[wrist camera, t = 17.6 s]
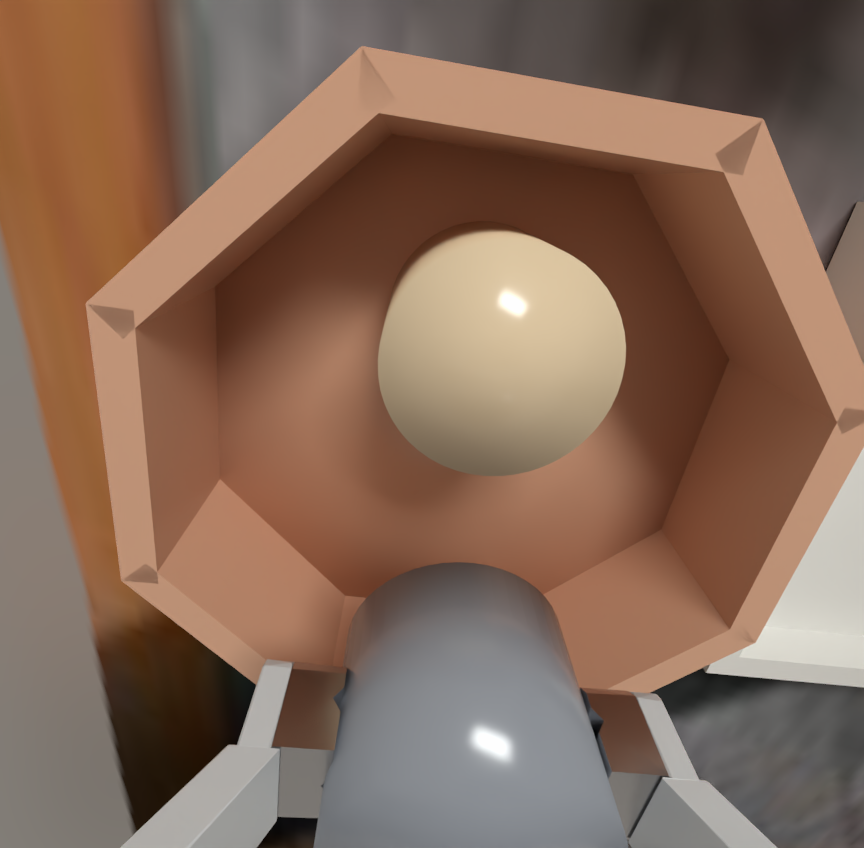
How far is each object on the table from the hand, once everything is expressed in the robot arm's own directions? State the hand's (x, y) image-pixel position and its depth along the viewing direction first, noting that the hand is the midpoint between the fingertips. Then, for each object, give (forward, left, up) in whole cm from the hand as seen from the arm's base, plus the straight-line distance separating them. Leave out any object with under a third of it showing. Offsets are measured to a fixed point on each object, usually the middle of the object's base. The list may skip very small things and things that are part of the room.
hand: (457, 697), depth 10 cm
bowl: (0, -3, -7) cm, 8 cm away
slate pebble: (0, 0, -1) cm, 1 cm away
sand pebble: (0, -6, -6) cm, 9 cm away
